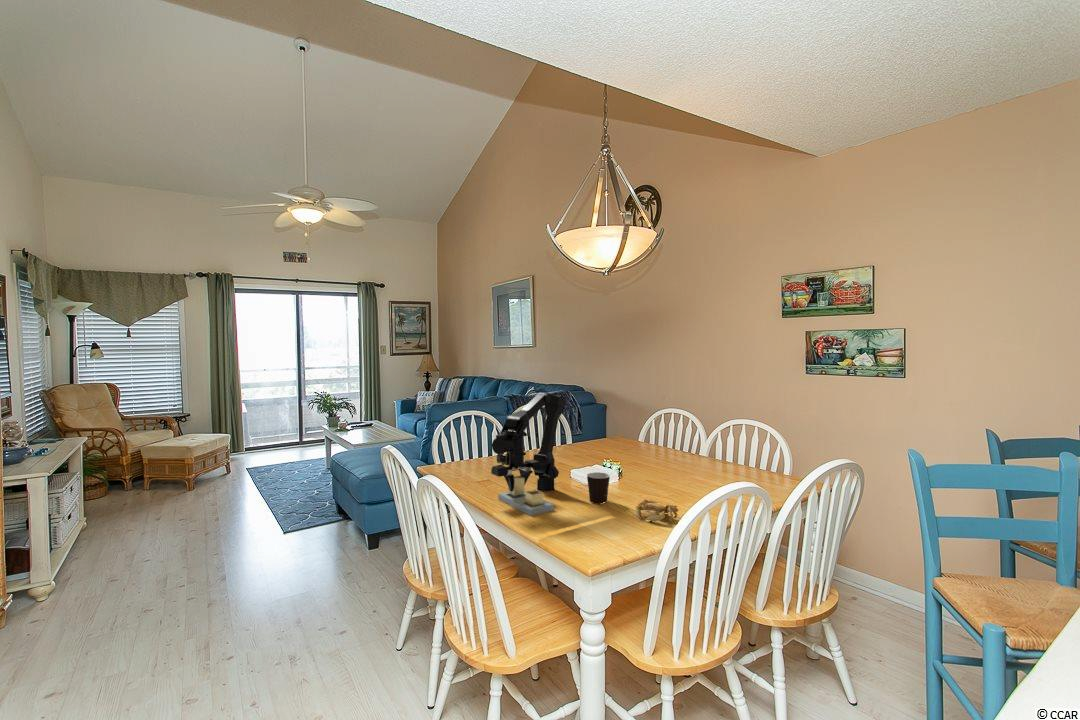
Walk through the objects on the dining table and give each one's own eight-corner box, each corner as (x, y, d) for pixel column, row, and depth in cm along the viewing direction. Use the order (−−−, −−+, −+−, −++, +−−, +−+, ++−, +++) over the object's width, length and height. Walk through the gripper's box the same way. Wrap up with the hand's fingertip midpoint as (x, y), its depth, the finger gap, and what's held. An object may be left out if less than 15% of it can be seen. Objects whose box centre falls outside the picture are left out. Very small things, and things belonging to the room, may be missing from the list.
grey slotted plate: (498, 501, 191) (498, 493, 191) (520, 497, 197) (520, 489, 197) (530, 518, 173) (530, 510, 173) (553, 512, 179) (553, 504, 179)
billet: (518, 490, 193) (518, 474, 193) (524, 493, 189) (524, 477, 189) (508, 492, 191) (508, 476, 190) (514, 495, 187) (514, 479, 187)
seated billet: (535, 506, 183) (535, 489, 183) (542, 509, 180) (542, 492, 179) (525, 508, 181) (525, 491, 181) (532, 511, 177) (532, 494, 177)
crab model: (625, 517, 176) (625, 501, 176) (647, 508, 184) (647, 493, 184) (662, 529, 164) (662, 512, 164) (685, 519, 173) (684, 503, 172)
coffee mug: (593, 496, 198) (593, 471, 197) (613, 500, 193) (613, 474, 192) (578, 504, 188) (578, 477, 188) (598, 508, 183) (599, 481, 183)
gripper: (525, 442, 201) (525, 481, 202) (483, 448, 191) (484, 489, 191) (541, 447, 192) (541, 488, 193) (498, 454, 181) (499, 496, 182)
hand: (516, 490), depth 190 cm, fingers closed on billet, 4 cm apart
